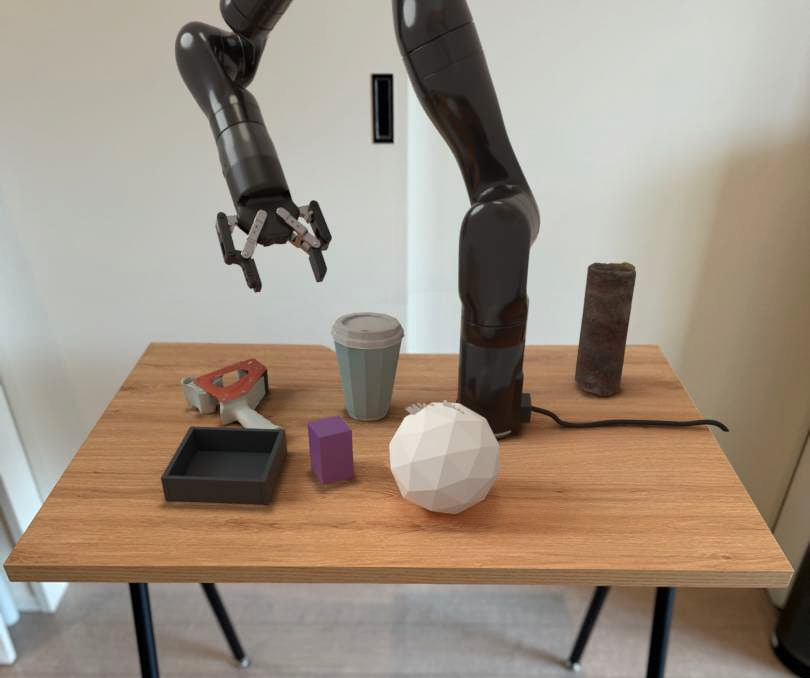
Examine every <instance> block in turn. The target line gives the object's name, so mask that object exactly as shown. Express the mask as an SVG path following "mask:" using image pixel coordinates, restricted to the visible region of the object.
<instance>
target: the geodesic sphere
mask: <svg viewBox="0 0 810 678" xmlns="http://www.w3.org/2000/svg"><path fill="white" fill-rule="evenodd" d="M404 409H405V411H407V412H408V413H409V414H408V415H406V416H405V417H404V418H403V419H402V421H401V423H400V425H399V427H398V429H397V430H396V432H395V434H394V435H393V437H392V439H391V440H390V442H389V444H388V445H389V464H390V465H389V466H390V471H391V473H392V476H393V478H394V480H395V483H396V485H397V487H398V490H399V492H400V493H401V496H402V498H403V499H404V500H406V501H409V502H411V503H413V504H414V505H417V506H419V507H421V508H422V509H426V510H428V511H429V512H435V513H443V514H451V515H458V514H460V513H461V512H463V511H465V510H467V509H469V508H472V507H473V506H475V505H477V504H479V503H480V502H482V501H484V500H485V499H486V497H487V496H488V493H489V492H490V490H491V488H492V487H493V486H494V483H495V482H496V480H497V478H498V477H499V475H500V473H501V466H500V465H501V464H500V463H501V462H500V461H501V460H500V458H501V457H500V444H499V442H498V439H496V438H495V436H494V434H493V432H492V430H491V428H490V426H489V424H488V422H487V420H486V419H485V418H484V417H482V416H480V415H479V414H477V413H475V412H473V411H472V410H470V409H468V408H466V407H465V406H463V405H461V404H459V403H456V402H451V401H448V400H447V399H443V401H442V402H430V403H428V404H426V403H425V402H422V404H421V403H420V402H417V405H416V404H413V403H412V404H411V406H407V407H405V408H404Z"/></svg>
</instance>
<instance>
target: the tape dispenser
mask: <svg viewBox="0 0 810 678" xmlns="http://www.w3.org/2000/svg"><path fill="white" fill-rule="evenodd" d="M235 371H236V379H237V380H236V381H234V382H233V383H231V384H230V385H227V386H224V381H223V380H224V379H223V377H224V375H227V374H229V373H233V372H235ZM180 383H181V385H182V390H183V395H184V400H185V402H186V404H187V406H189V407H190V406H192V407H193V406H194V407H195V408H197V409H198V411H199V412H200V414H202V415H208V414H214V413H216V409H217V406H218V404H219V406H220V408H219V413H220V419H221V423H222V425H224V426H227V425H230V424H232V423H235V422H239V423H240V425H241V426H242V428H256V429H284V428H283V427H282V426H281V425H277V424H274V423H273V422H272V421H271V420H270V419H267V418H265V417H264V415H263V414H259V413H258V411H257V410H256V408H257V407H258V406H259V404H260V402H261V400H262V399H263V398H264V397H268V395H269V394H270V386H269V375H268V368H267V366H265V364H263V363H261V362H260V361H259V360H257V359H256V358H254V357H253V358H248V359H244V360H240V361H237V362H235V363H232V364H230V365H227V366H224V367H222V368H219V369H217V370H214V371H211V372H208V373H205V374H202V375H199V376H197V377H194V376H192V377H187V376H186V377H184V378H182V379H181V381H180Z"/></svg>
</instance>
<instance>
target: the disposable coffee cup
mask: <svg viewBox="0 0 810 678" xmlns="http://www.w3.org/2000/svg"><path fill="white" fill-rule="evenodd" d="M330 331H331V332H330V334H331V337H332V340H333V343H334V350H335V356H336V360H337V366H338V372H339V373H338V374H339V378H340V383H341V389H342V395H343V400H344V407H345V409H346V412H347V413H348V416H349V417H351V418H353V419H354V420H357V421H361V422H373V421H374V422H375V421H379V420H381V419H383V418H385V417H386V415H387V414H388V412H389V410H390V408H391V403H392V397H393V392H394V386H395V379H396V376H397V375H396V374H397V369H398V363H399V357H400V352H401V348H402V347H401V346H402V341H403V339H404V337H405V330H404V328H403V326H402V324H401V322H400V321H399V320H398V318H397V317H394V316H391V315H389V314H386V313H381V312H374V311H373V312H372V311H364V312H362V311H361V312H351V313H348V314H344V315H341V316H340V317H338V318H337V319H336V320H335V321H334V324H333V325H332V326H331V330H330Z"/></svg>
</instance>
